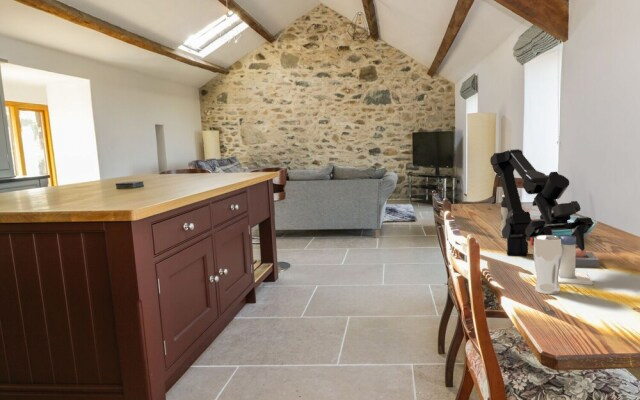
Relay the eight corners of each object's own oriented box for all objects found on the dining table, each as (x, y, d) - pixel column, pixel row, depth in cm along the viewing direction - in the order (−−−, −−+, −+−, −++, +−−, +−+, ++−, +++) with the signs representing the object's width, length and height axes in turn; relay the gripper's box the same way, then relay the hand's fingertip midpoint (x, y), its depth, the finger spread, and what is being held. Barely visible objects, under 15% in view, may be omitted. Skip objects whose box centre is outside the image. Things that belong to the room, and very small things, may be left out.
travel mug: (522, 235, 192) (522, 194, 190) (519, 239, 185) (519, 196, 183) (503, 234, 196) (502, 194, 194) (499, 238, 189) (499, 196, 187)
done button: (571, 259, 146) (571, 251, 145) (569, 256, 150) (569, 247, 149) (587, 260, 144) (587, 251, 144) (584, 257, 148) (584, 248, 148)
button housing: (563, 266, 144) (563, 258, 144) (558, 258, 153) (558, 251, 153) (599, 267, 141) (599, 259, 140) (591, 259, 150) (591, 252, 150)
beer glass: (550, 296, 118) (550, 241, 116) (527, 289, 124) (527, 237, 122) (567, 291, 121) (567, 237, 119) (544, 285, 127) (544, 233, 125)
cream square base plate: (549, 282, 129) (549, 280, 129) (544, 272, 139) (544, 270, 139) (592, 284, 125) (592, 282, 125) (584, 273, 136) (584, 271, 136)
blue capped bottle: (558, 277, 132) (558, 237, 130) (560, 273, 135) (560, 234, 134) (574, 278, 129) (575, 238, 128) (576, 274, 133) (577, 235, 131)
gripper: (530, 194, 133) (550, 237, 123) (590, 190, 134) (615, 233, 124) (517, 216, 142) (535, 258, 132) (573, 212, 142) (596, 254, 133)
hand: (570, 251), depth 130 cm, fingers open, 7 cm apart
